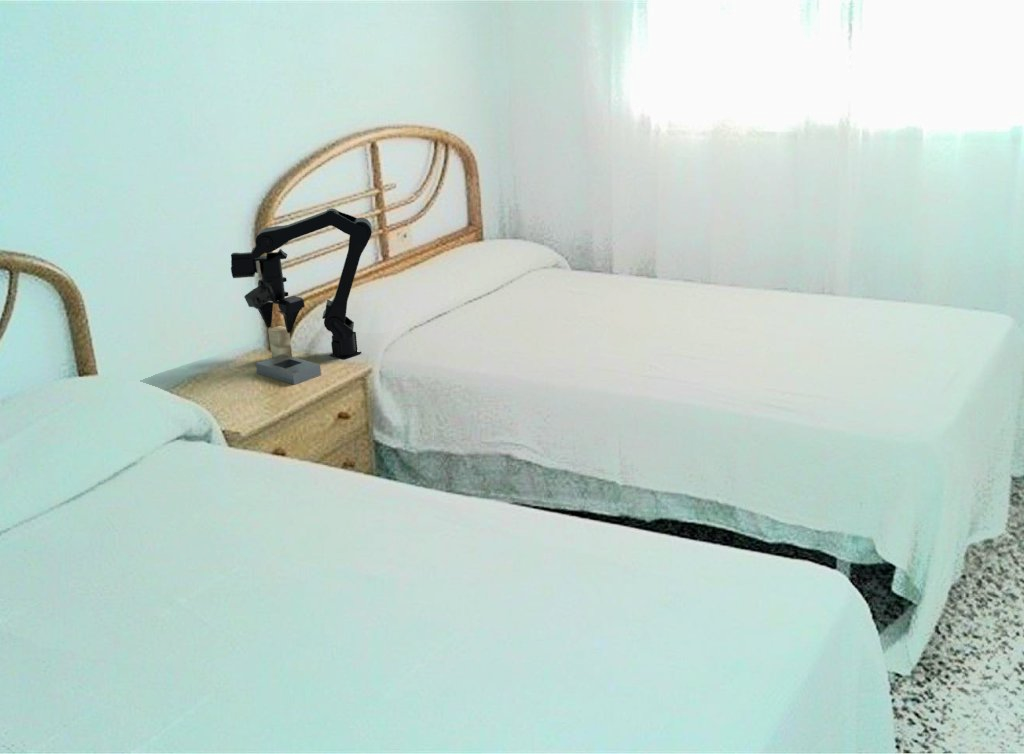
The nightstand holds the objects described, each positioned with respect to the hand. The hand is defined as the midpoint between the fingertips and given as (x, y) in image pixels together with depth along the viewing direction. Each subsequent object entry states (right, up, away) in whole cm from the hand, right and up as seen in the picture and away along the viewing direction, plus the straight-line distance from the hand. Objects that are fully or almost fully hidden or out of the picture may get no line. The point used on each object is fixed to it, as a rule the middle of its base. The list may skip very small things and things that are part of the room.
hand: (279, 330), depth 288 cm
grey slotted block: (+5, -12, -10) cm, 16 cm away
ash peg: (0, -8, +3) cm, 9 cm away
